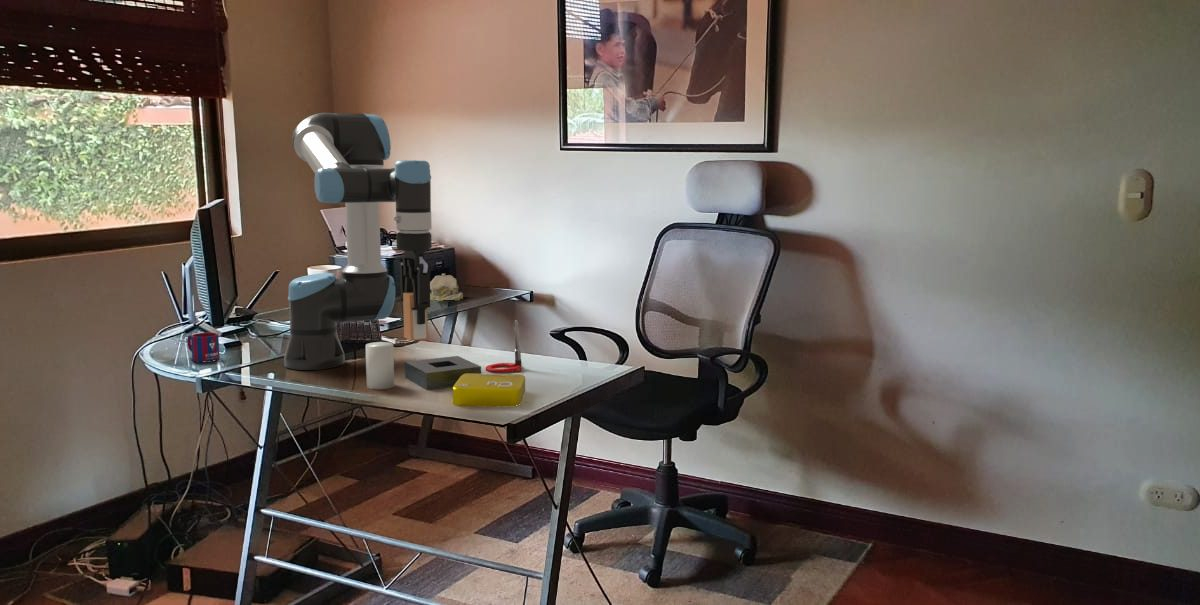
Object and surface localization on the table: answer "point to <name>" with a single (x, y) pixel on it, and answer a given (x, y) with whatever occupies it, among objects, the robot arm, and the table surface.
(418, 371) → the bore block
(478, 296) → the table surface
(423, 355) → the table surface
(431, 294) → the ceramic model
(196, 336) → the mug
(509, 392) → the element tile
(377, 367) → the round peg
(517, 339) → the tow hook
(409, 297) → the square peg
